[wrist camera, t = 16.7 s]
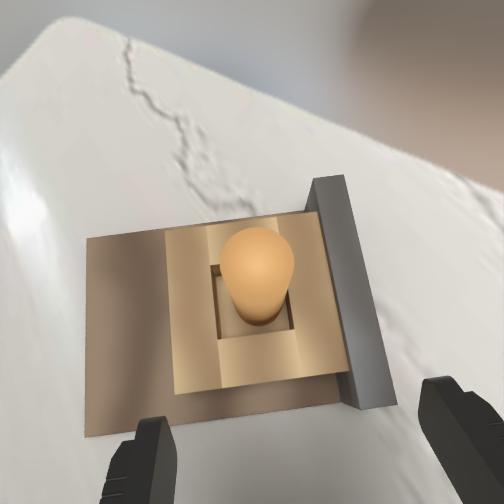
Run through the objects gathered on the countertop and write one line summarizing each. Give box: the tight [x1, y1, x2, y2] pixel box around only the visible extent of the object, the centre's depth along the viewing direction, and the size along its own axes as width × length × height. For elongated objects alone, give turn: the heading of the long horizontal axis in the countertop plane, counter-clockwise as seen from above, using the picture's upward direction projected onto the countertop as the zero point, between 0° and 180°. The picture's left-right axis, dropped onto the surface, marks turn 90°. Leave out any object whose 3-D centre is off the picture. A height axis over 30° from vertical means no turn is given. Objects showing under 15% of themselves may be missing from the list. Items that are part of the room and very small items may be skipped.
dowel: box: [220, 227, 294, 326], centre depth 20 cm, size 3×3×10 cm
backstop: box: [85, 174, 398, 438], centre depth 24 cm, size 20×14×6 cm
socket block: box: [165, 211, 349, 395], centre depth 24 cm, size 10×10×4 cm
